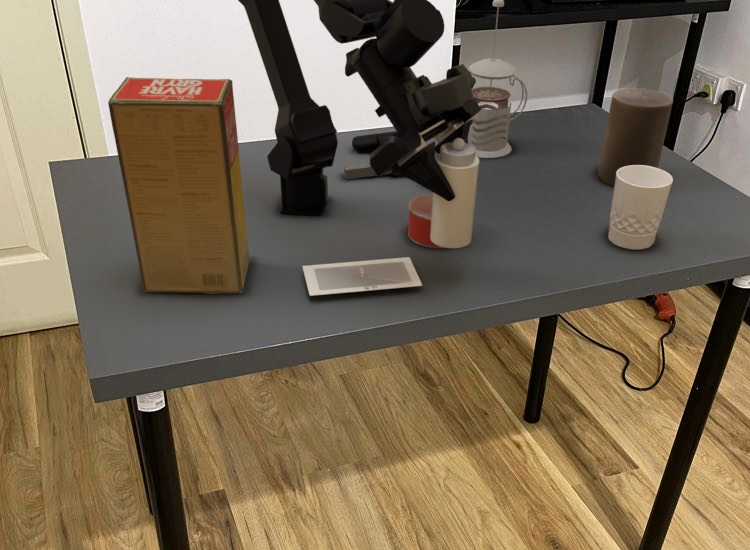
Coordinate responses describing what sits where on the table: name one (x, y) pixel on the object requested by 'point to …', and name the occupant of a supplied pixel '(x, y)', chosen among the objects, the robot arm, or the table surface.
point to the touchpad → (360, 276)
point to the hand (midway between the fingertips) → (463, 191)
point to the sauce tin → (421, 221)
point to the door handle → (363, 145)
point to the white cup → (638, 205)
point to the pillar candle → (634, 130)
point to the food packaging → (182, 183)
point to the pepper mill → (458, 214)
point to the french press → (484, 136)
